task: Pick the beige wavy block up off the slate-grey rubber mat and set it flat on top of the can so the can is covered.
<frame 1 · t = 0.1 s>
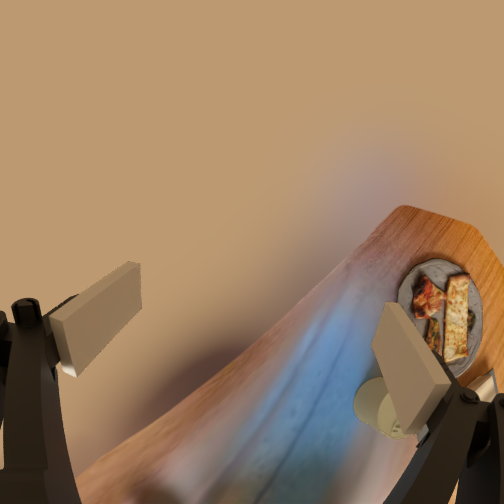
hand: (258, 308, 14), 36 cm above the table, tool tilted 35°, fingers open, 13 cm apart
beige wavy block: (462, 412, 40), resting on mat
can: (375, 400, 44), on the table
food plate: (438, 321, 48), on the table
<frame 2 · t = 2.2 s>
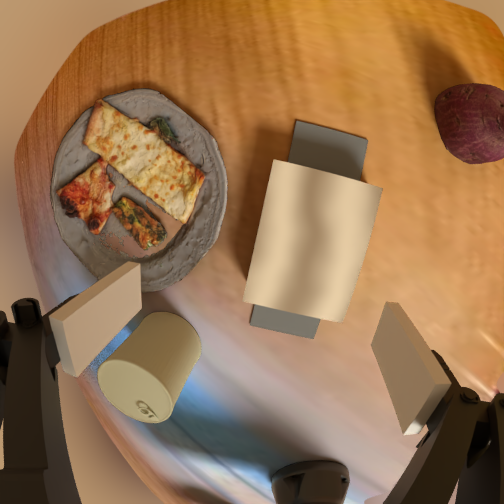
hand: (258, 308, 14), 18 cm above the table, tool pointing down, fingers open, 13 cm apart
mat: (308, 236, 31), on the table
beige wavy block: (308, 237, 31), resting on mat
can: (169, 340, 37), on the table
food plate: (129, 189, 33), on the table
vegetable: (465, 125, 26), on the table
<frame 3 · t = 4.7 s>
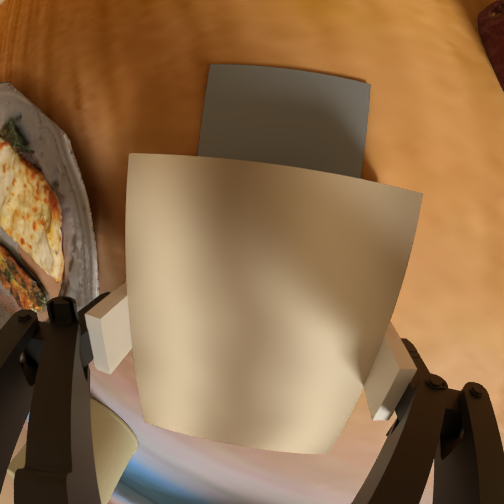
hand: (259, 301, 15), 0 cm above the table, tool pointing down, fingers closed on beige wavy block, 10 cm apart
mat: (260, 298, 16), on the table
beige wavy block: (259, 300, 15), resting on mat, touching gripper
can: (99, 423, 22), on the table
food plate: (5, 231, 18), on the table
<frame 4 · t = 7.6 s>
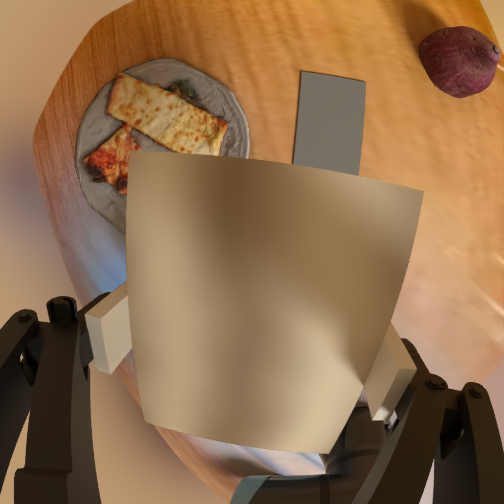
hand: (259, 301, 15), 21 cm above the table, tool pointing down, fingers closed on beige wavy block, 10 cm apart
mat: (326, 169, 33), on the table
beige wavy block: (260, 299, 15), point 21 cm above the table, touching gripper
food plate: (155, 149, 35), on the table
vegetable: (449, 66, 26), on the table
when the fingers open (13 cm above the table, at t = 11.0 s): beige wavy block drops 1 cm, resting on can.
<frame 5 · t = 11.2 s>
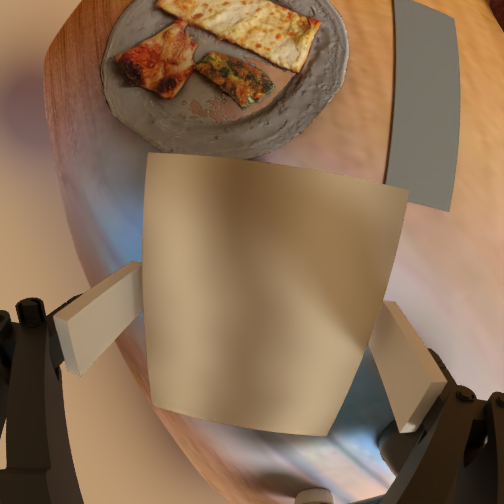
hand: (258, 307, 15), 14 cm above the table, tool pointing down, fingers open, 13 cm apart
mat: (429, 92, 22), on the table
beige wavy block: (262, 289, 17), point 12 cm above the table, touching can
coffee cup: (313, 493, 42), on the table
food plate: (216, 48, 24), on the table
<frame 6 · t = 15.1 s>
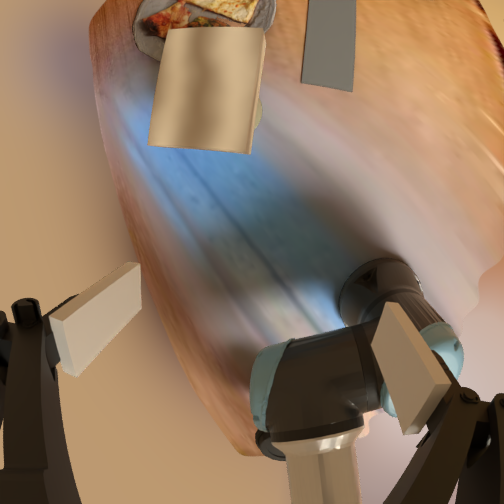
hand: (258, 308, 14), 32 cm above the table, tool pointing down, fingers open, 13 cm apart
mat: (331, 26, 34), on the table
beige wavy block: (213, 92, 30), point 12 cm above the table, touching can
coffee cup: (288, 392, 55), on the table
food plate: (202, 15, 36), on the table
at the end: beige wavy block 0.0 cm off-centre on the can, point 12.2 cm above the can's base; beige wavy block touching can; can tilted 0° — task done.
